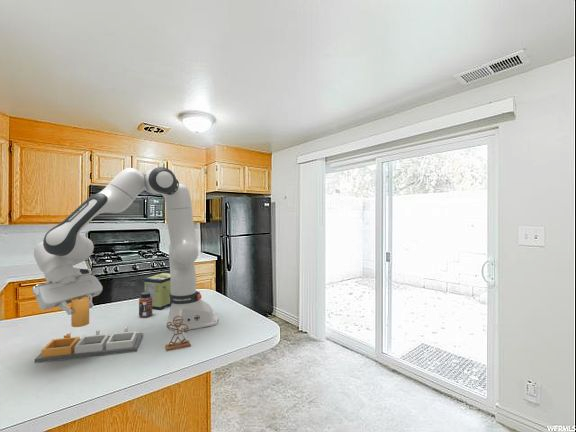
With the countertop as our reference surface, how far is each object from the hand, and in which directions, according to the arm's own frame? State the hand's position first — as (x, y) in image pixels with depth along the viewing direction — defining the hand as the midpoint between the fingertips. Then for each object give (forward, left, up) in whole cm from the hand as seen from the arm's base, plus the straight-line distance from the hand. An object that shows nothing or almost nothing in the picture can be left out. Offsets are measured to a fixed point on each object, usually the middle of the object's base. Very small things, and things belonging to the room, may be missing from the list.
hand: (81, 310), depth 108 cm
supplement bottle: (-15, -40, -18) cm, 46 cm away
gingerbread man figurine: (-32, -2, -18) cm, 36 cm away
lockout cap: (0, 0, -5) cm, 5 cm away
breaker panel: (-1, -9, -18) cm, 20 cm away
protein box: (-21, -56, -18) cm, 62 cm away
